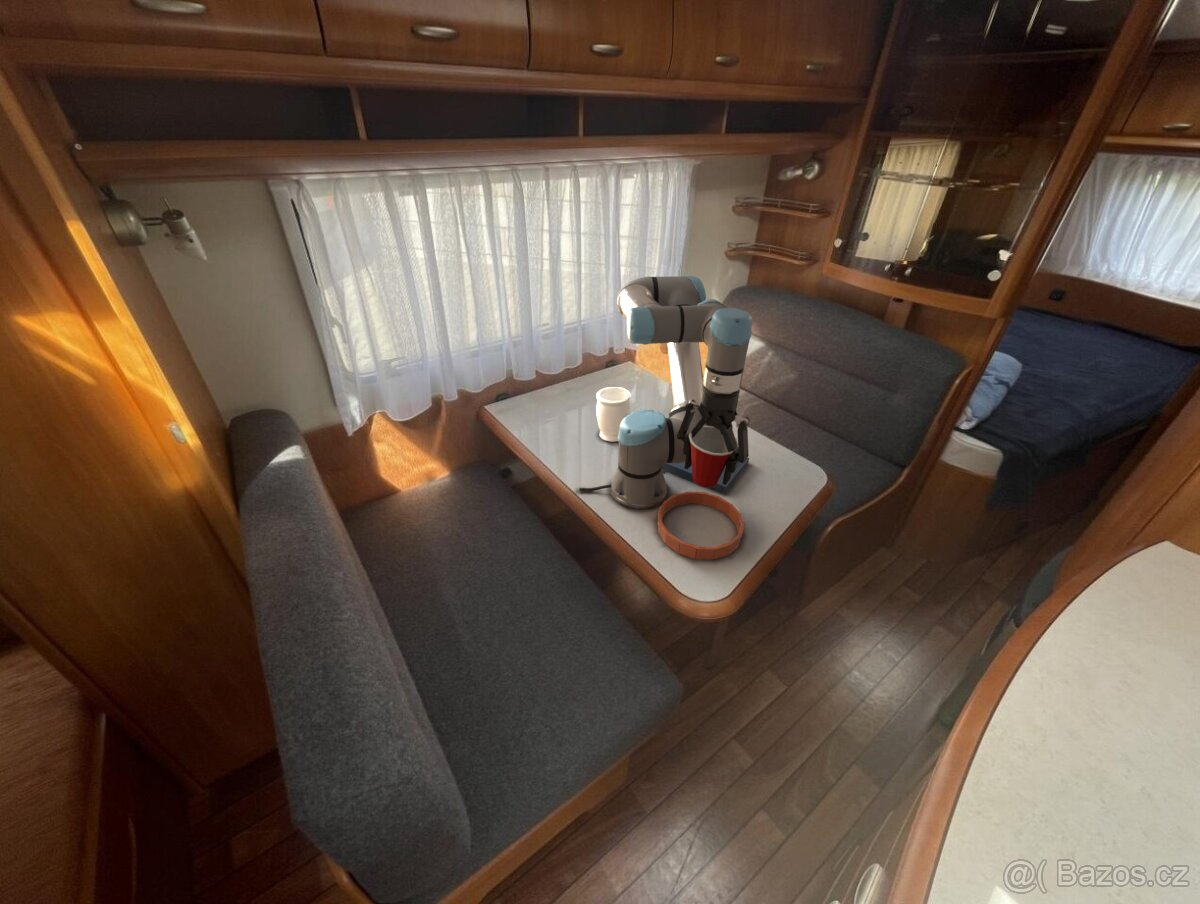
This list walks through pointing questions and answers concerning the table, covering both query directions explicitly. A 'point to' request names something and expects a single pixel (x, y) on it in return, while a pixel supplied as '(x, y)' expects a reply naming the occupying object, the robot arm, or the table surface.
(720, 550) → the ring
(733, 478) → the tray
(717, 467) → the plastic cup
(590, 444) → the table surface
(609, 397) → the jar
